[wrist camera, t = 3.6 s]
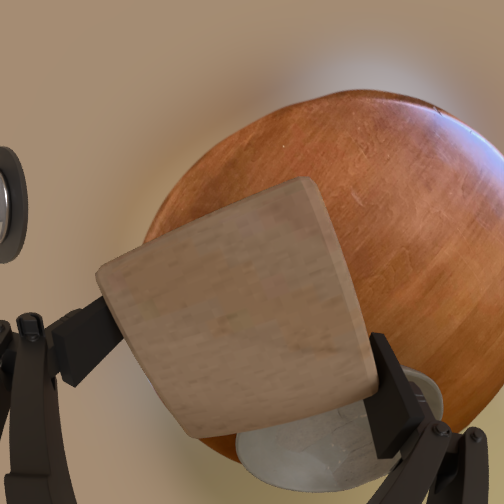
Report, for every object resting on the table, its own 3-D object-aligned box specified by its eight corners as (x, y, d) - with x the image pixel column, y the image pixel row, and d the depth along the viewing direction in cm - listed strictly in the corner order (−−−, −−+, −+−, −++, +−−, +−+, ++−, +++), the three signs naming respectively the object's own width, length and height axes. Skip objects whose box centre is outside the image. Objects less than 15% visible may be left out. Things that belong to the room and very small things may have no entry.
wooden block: (205, 226, 30) (87, 272, 11) (292, 190, 29) (312, 169, 9) (241, 309, 32) (189, 442, 12) (325, 277, 30) (383, 395, 10)
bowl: (262, 463, 40) (258, 499, 32) (224, 345, 34) (208, 387, 26) (409, 439, 36) (421, 472, 28) (434, 309, 30) (464, 340, 22)
